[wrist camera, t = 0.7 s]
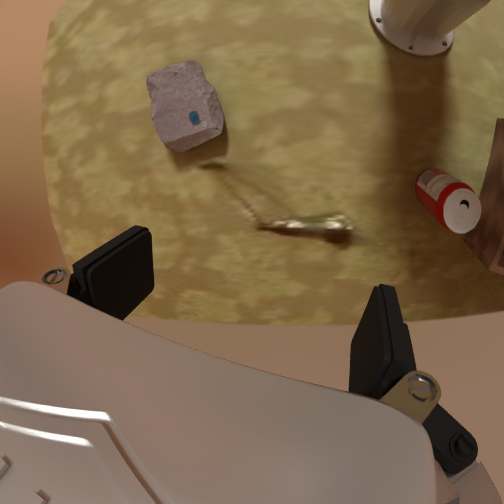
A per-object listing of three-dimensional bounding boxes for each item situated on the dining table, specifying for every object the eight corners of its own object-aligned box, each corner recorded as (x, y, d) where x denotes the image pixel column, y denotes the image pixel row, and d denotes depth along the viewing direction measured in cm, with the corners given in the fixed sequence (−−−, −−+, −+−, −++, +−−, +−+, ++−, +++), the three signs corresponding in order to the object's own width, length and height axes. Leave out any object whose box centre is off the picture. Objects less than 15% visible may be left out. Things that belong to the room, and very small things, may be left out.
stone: (233, 135, 39) (217, 136, 34) (179, 153, 42) (158, 158, 37) (210, 55, 35) (191, 47, 29) (158, 79, 38) (136, 76, 33)
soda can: (439, 211, 34) (471, 244, 24) (408, 197, 35) (434, 225, 25) (453, 177, 32) (491, 199, 21) (422, 161, 33) (454, 177, 22)
